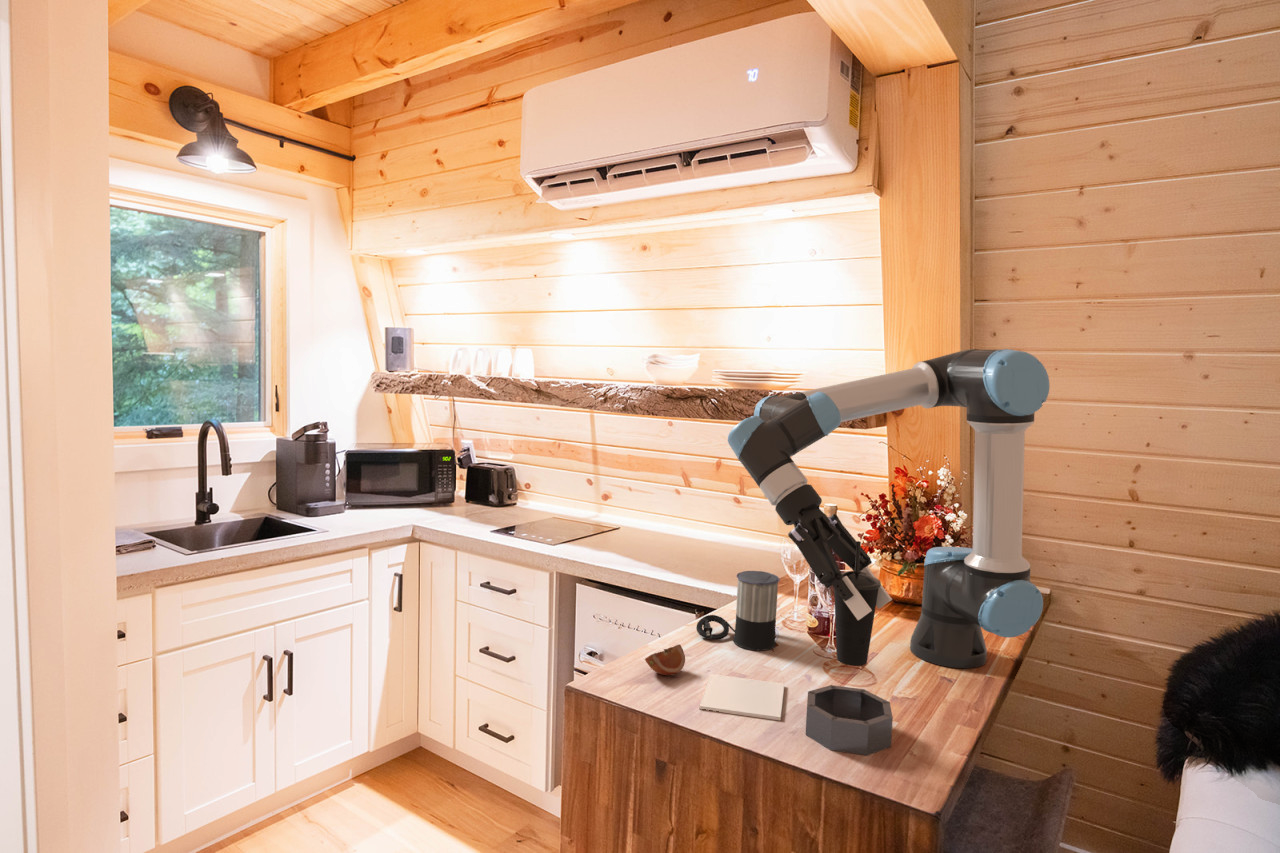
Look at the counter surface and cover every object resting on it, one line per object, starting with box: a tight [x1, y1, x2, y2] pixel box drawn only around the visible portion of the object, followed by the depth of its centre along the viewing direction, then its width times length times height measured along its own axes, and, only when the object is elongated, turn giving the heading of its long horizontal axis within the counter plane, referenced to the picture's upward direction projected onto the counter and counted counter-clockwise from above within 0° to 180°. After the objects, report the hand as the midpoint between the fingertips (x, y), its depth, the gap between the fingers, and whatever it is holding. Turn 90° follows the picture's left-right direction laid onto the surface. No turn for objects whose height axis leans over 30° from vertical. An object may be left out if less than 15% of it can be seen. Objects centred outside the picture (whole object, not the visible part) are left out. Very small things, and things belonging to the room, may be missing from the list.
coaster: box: [699, 673, 785, 721], centre depth 141 cm, size 14×14×1 cm
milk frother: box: [696, 570, 781, 651], centre depth 168 cm, size 14×16×15 cm
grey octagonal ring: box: [805, 684, 894, 756], centre depth 129 cm, size 13×13×5 cm
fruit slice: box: [644, 644, 686, 676], centre depth 150 cm, size 8×7×5 cm
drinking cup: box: [833, 540, 882, 667], centre depth 127 cm, size 8×8×20 cm
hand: (875, 609), depth 124 cm, fingers closed on drinking cup, 7 cm apart
